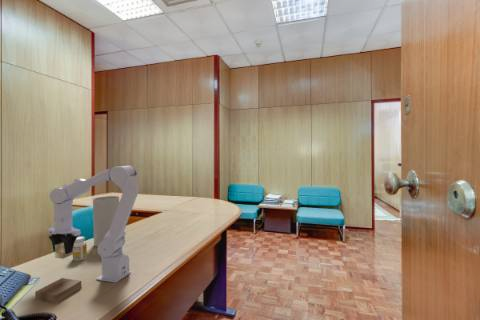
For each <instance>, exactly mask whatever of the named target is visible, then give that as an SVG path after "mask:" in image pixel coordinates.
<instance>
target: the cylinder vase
mask: <svg viewBox="0 0 480 320" xmlns="http://www.w3.org/2000/svg"><path fill="white" fill-rule="evenodd" d="M119 202H120V196H118V195H109V196H107V195H105V196H98V197H95V198H93V199H92V216H93V218H92V219H93V221H92V222H93V246H95V247H98V245H99V243H100V242H102V240H103V238H104V236H105V235H106V233H107V232H108V231H109V229H110V226H111V224H112V221H113V218H114V216H115V213H116V210H117V207H118V205H119Z"/></svg>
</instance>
